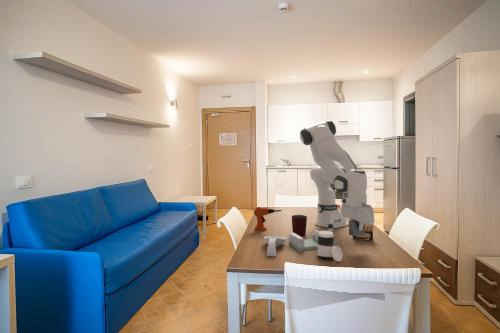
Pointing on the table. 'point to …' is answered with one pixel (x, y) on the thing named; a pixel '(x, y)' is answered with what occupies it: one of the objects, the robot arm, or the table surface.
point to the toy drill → (260, 219)
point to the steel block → (355, 228)
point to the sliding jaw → (316, 232)
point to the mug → (299, 224)
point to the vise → (302, 242)
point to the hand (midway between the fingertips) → (356, 228)
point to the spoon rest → (273, 244)
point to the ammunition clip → (366, 233)
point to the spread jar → (328, 247)
